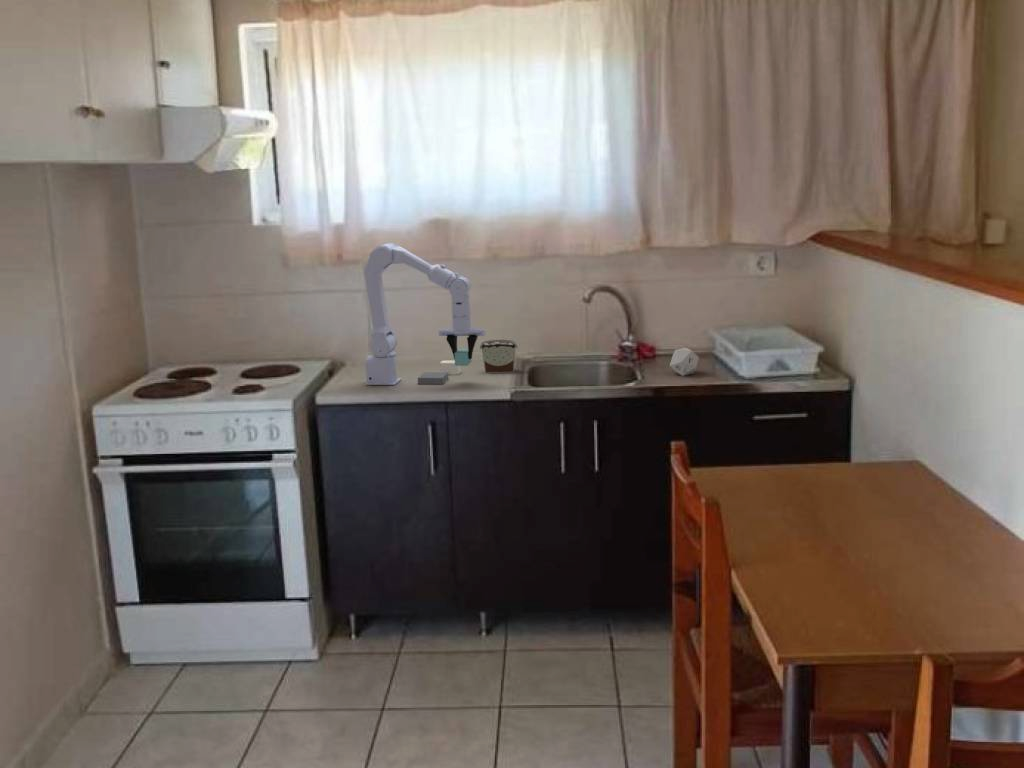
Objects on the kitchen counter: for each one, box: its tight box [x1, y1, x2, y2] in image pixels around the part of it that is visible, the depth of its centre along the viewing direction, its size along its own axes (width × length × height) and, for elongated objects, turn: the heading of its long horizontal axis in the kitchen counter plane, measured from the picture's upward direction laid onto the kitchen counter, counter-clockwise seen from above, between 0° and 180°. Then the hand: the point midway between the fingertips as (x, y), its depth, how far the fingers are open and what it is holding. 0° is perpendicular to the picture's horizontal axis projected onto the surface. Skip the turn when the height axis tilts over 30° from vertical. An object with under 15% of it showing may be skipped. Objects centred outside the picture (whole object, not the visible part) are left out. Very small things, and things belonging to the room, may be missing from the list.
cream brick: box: [439, 359, 462, 376], centre depth 335 cm, size 6×4×4 cm, turn 82°
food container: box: [479, 339, 518, 374], centre depth 336 cm, size 12×6×10 cm, turn 84°
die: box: [669, 347, 700, 377], centre depth 323 cm, size 8×9×10 cm
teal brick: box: [454, 348, 472, 367], centre depth 319 cm, size 4×6×4 cm, turn 171°
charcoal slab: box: [417, 371, 449, 385], centre depth 325 cm, size 8×8×2 cm
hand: (463, 358), depth 319 cm, fingers closed on teal brick, 4 cm apart
